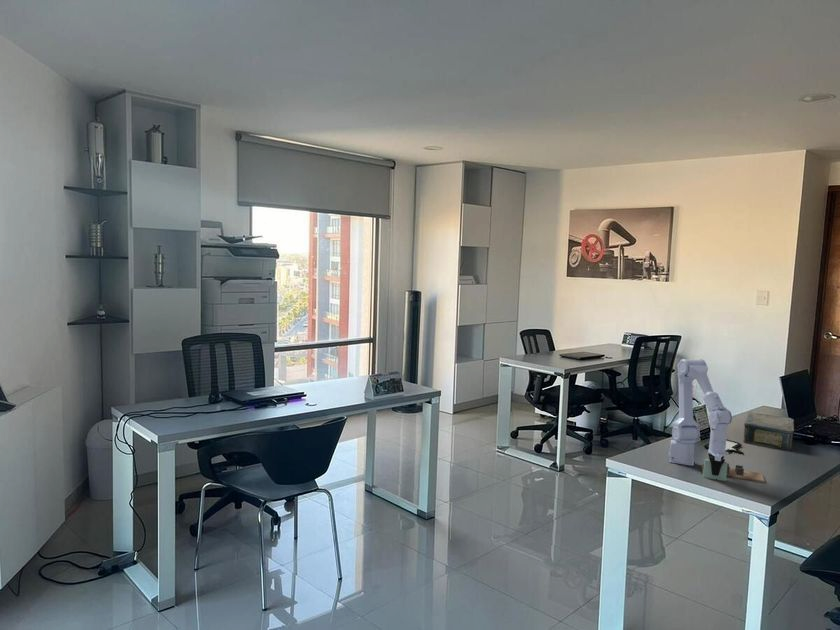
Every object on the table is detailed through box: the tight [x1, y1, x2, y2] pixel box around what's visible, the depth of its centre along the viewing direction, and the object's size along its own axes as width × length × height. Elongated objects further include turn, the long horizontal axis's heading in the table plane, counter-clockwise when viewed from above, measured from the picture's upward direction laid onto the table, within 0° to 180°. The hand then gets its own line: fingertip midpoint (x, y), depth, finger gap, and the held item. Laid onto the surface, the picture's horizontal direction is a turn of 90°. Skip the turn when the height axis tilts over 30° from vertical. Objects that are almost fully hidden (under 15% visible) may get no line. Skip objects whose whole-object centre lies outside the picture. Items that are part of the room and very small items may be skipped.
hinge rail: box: [700, 463, 766, 484], centre depth 243 cm, size 22×10×3 cm, turn 67°
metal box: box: [743, 411, 795, 451], centre depth 300 cm, size 21×32×10 cm, turn 148°
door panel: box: [702, 458, 729, 482], centre depth 236 cm, size 8×2×7 cm, turn 67°
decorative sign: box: [703, 438, 745, 456], centre depth 280 cm, size 22×2×15 cm
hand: (714, 473), depth 237 cm, fingers open, 2 cm apart
